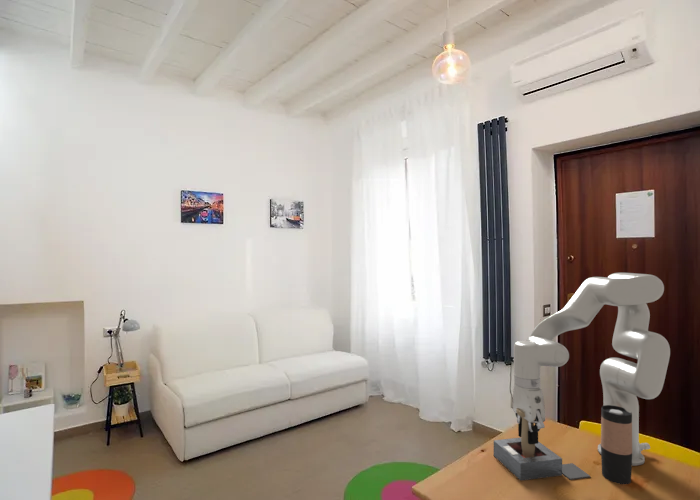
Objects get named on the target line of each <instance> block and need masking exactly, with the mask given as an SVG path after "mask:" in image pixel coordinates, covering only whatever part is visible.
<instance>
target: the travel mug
mask: <svg viewBox="0 0 700 500" xmlns="http://www.w3.org/2000/svg"><path fill="white" fill-rule="evenodd" d="M600 411H601V415H600V416H601V417H600V419H601V420H600V427H601V428H600V444H601V454H600V457H601V458H600V459H601V475H602V476H603V477H604V478H605V480H608V481H609V482H612V483H614V484H618V485H629V484H631V483H632V467H633V465H632V413H629V412H627V411H626V409H624V408H622V407H618V406H613V405H605V406H603V405H602V406H601V410H600Z"/></svg>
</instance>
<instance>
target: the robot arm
mask: <svg viewBox="0 0 700 500" xmlns="http://www.w3.org/2000/svg"><path fill="white" fill-rule="evenodd" d="M664 291H665V285H664V283H663V281H662V280H661V279H660V278H659V277H658V276H656V275H653V274H650V273H649V274H647V273H636V272H635V273H634V272H614V273H611V274H609V275H608V276H607V277H606V276H605V277H604V276H592V277H588V278H586V279H585V280H584V281H582V283H581V285H580V286H579V287H578V288H577V290H576V291H575V293H573V295H572V296H571V298H570V299H569V300H568V301H567V302H566V304H565V305H564V307H562V308H561V310H559V311H557V312H555V313H553V314H552V315H550V316H548V317H547V318H545V319H543V320H542V321H541V322H539V323H538V324H537V325H536V326H535V327H534V329H533V330H532V331H531V332H530V334H529V335H528V337H527V339H526V340H518V341H516V342H515V343H514V345H513V376H514V377H513V383H514V384H513V390H512V411H514V414H515V417H516V418H517V419H516V422H517V428H518V429H517V430H518V432H517V433H518V435H517V436H518V438H521V432H522V417H521V416H519V415H518V414H517V412H516V408H518V409H519V410H521V411H522V412H524V413H525V417H524V419H526V420H527V421H528V425H529V431H528V444H537V443H538V441H539V432H540V430H541V429H545V424H544V422H545V421H546V409H545V408H546V407H545V405H546V404H545V399H544V393H543V389H542V388H541V367H552V368H559V367H563V366H564V365H565V364H567V362H568V361H569V359H570V352H569V350H568V349H567V348H566V346H564V345H563V344H562V343H560V342H557V341H553V340H554V339H555V338H556V337H558V336H559V335H561V334H564V333H566V332H569V331H575V330H579V329H584V328H586V327H588V326H589V325H590V324H591V322H592V321H593V320H594V318H595V317H596V315H598V313H600V310H601V309H602V308H603V307H604V305H608V306H613V307H617V318H616V322H615V326H614V331H613V334H612V335H613V336H612V343H611V345H612V348H613V350H615V352H617V353H618V354H620V355H622V356H625V357H629V358H632V359H636V360H637V363H635V362H634V361H631V360H626V359H624V358H620V357H609V358H606V359H605V360H603V361H602V362H601V364H600V367H599V368H600V369H599V377H600V380H601V385H602V386H601V387H602V393H603V394H602V395H603V396H602V397H603V401H602V402H603V405H602V406H605V405H613V406H618V407H622V408H624V409H626V411H627V412H629V413H632V467H634V466H641V465H644V463H645V461H646V460H645V456H644V455H643V454H642V452H643V450H644V451H646V450H650V449H651V446H650V443H648V442H641V443H640V437H639V436H640V435H639V434H640V431H639V426H640V425H639V422H640V421H639V419H640V418H639V417H640V413H639V412H640V405H639V400H638V398H641V399H645V400H654V399H655V398H657V397H659V395H660V394H661V392H662V390H663V388H664V384H665V379H666V375H667V370H668V366H669V363H670V357H671V348H670V344H669V342H668V340H667V339H666V338H665V336H663V335H662V334H660V333H657V332H654V331H650V330H649V324H650V318H651V317H650V316H651V314H650V309H649V306H648V303H654V302H655V301H657V300H659V299H660V298H661V297H662V296H663V294H664ZM532 423H534V426H532ZM597 452H598V453H599V454H600V455H601V443H599V444H598V445H597Z"/></svg>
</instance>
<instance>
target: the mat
mask: <svg viewBox="0 0 700 500" xmlns="http://www.w3.org/2000/svg"><path fill="white" fill-rule="evenodd" d="M562 476H564V477H565V478H567V479H568V480H571V481H575V480H580V479H588V478H591V475H590V474H588V473H587V472H586V471H585V470H583V469H581V468H580V467H579V466H577V465H576V464H575V463H573V462H570V463H562Z"/></svg>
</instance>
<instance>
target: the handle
mask: <svg viewBox="0 0 700 500" xmlns="http://www.w3.org/2000/svg"><path fill="white" fill-rule="evenodd" d="M516 412H517V414H518V415H519V416H521V417H522V432H521V437H520V438H521V444H522V451H523V452H522V453H523V457H524V458H528V457H534V452H535V444H528V431H529V425H528V421H527V420H526V419H524V417H525V413H524V412H522V411H521V410H519V409H518V408H516ZM534 425H535V423H532V426H534Z"/></svg>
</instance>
